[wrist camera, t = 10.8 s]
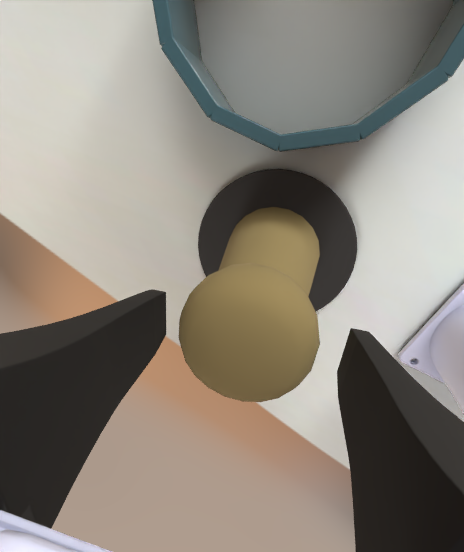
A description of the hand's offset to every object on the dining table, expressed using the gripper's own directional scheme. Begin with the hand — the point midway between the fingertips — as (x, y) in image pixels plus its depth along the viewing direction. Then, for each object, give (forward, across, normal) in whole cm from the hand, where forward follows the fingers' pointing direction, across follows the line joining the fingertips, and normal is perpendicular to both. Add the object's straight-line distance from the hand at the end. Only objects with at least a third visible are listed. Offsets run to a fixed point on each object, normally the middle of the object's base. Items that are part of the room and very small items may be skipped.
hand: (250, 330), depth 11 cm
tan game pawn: (+9, 0, 0) cm, 9 cm away
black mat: (+9, 0, 0) cm, 9 cm away
